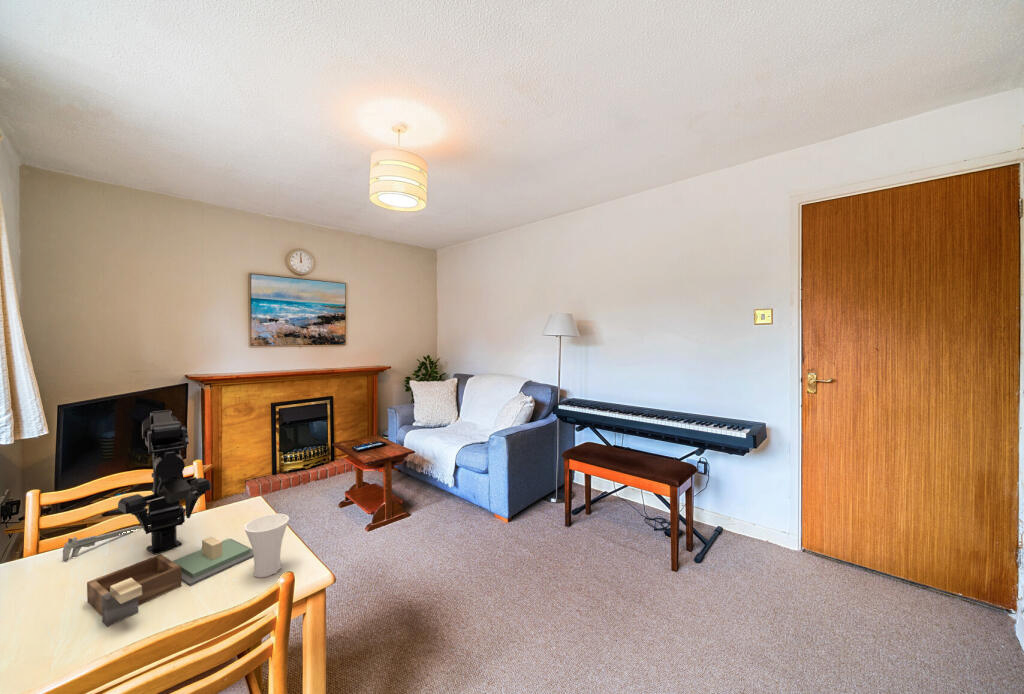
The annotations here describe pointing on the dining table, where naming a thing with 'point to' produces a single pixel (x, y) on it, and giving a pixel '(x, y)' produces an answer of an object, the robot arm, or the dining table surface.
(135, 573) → the toolbox
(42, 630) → the dining table surface
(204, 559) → the lid
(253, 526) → the cup
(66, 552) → the caliper
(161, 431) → the robot arm
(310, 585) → the dining table surface
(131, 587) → the wooden block
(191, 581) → the mat
